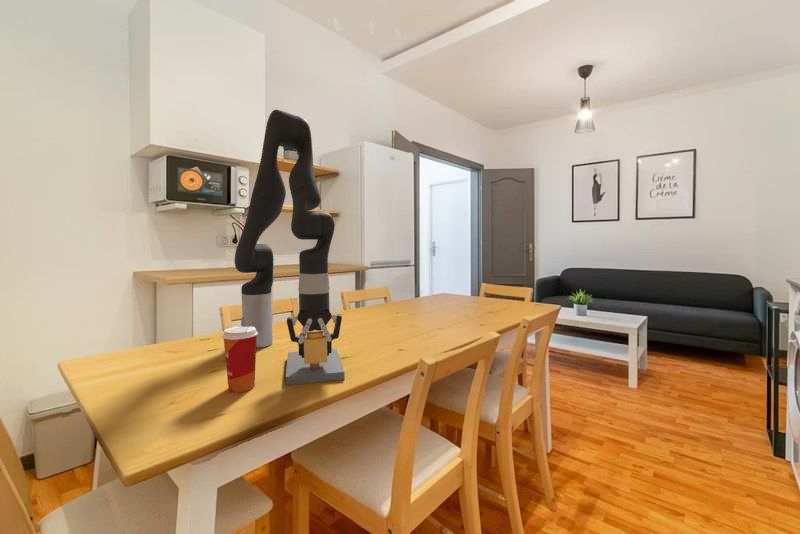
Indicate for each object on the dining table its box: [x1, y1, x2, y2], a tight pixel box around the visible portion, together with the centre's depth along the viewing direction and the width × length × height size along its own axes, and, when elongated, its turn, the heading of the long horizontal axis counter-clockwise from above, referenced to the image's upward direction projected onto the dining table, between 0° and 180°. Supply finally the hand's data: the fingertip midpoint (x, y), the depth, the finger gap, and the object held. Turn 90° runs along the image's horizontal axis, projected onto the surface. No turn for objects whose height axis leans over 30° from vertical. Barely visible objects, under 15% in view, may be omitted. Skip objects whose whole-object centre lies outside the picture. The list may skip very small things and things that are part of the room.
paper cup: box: [221, 325, 258, 394], centre depth 86 cm, size 8×8×14 cm
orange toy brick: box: [303, 330, 327, 364], centre depth 95 cm, size 6×6×7 cm
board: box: [285, 348, 346, 386], centre depth 100 cm, size 14×20×6 cm
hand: (315, 355), depth 95 cm, fingers closed on orange toy brick, 5 cm apart
